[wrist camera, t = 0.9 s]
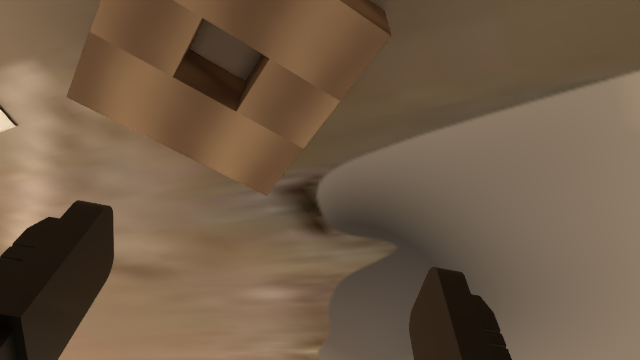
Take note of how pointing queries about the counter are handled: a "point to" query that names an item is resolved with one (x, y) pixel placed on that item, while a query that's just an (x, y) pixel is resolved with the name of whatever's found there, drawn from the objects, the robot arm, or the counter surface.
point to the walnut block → (227, 76)
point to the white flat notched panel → (5, 122)
